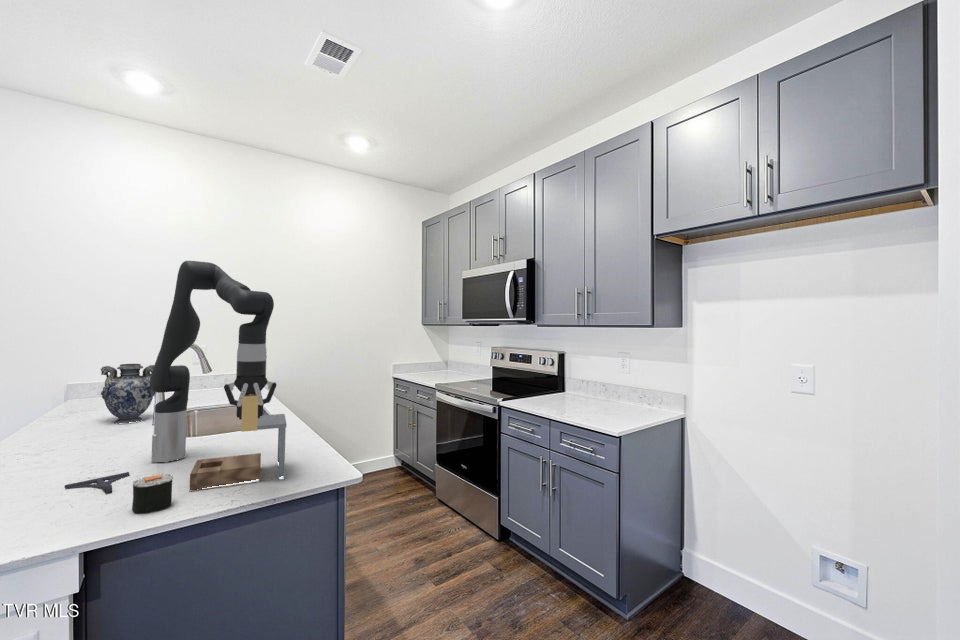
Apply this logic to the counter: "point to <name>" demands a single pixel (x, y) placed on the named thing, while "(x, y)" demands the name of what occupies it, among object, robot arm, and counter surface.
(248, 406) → the peg
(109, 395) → the decorative vase
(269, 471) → the counter surface
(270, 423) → the panel
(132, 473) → the counter surface
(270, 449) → the counter surface
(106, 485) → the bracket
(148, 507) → the sushi
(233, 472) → the socket block
